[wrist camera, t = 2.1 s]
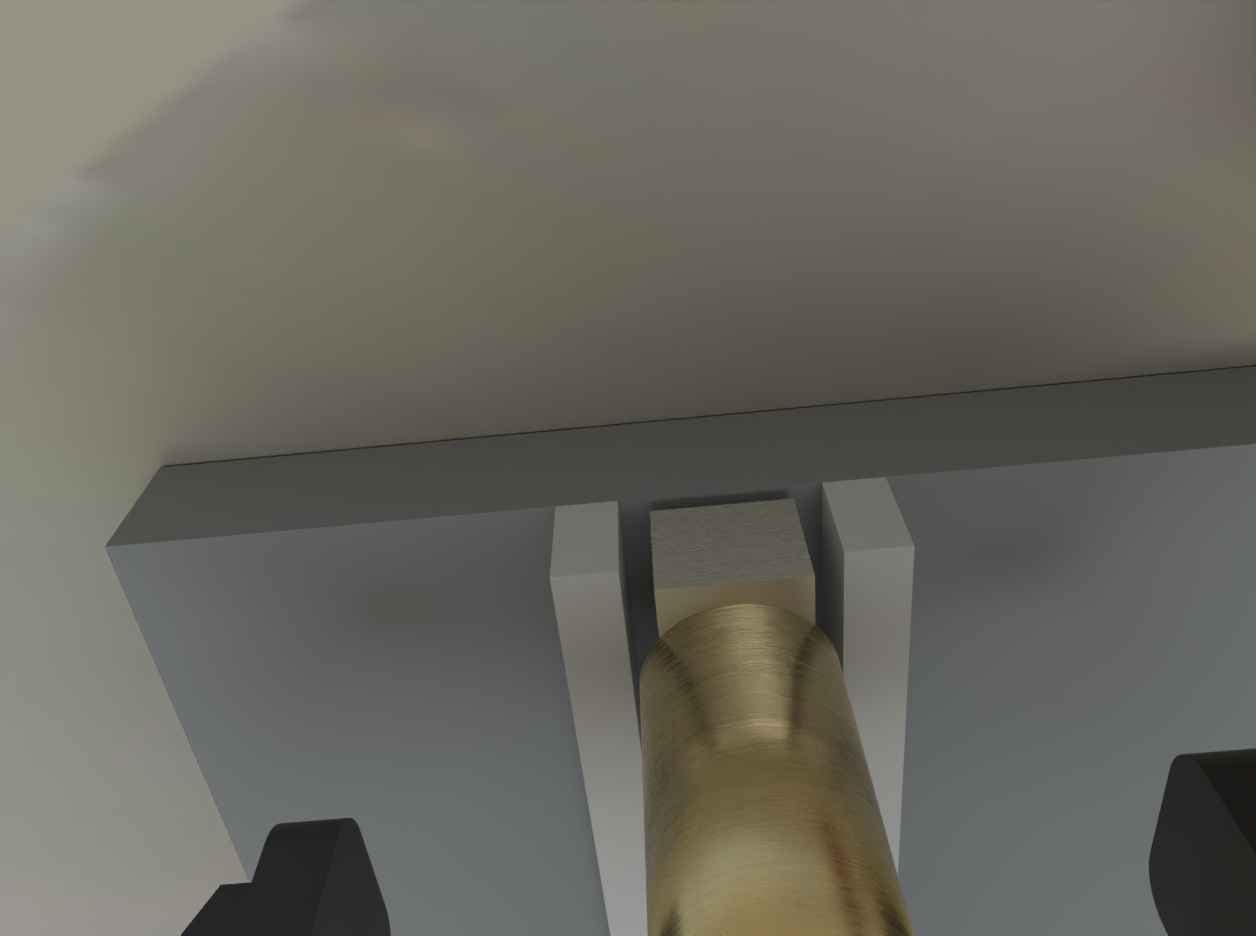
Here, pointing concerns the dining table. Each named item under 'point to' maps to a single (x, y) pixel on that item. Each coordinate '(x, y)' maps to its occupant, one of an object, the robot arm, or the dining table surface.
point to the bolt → (753, 743)
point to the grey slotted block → (627, 630)
